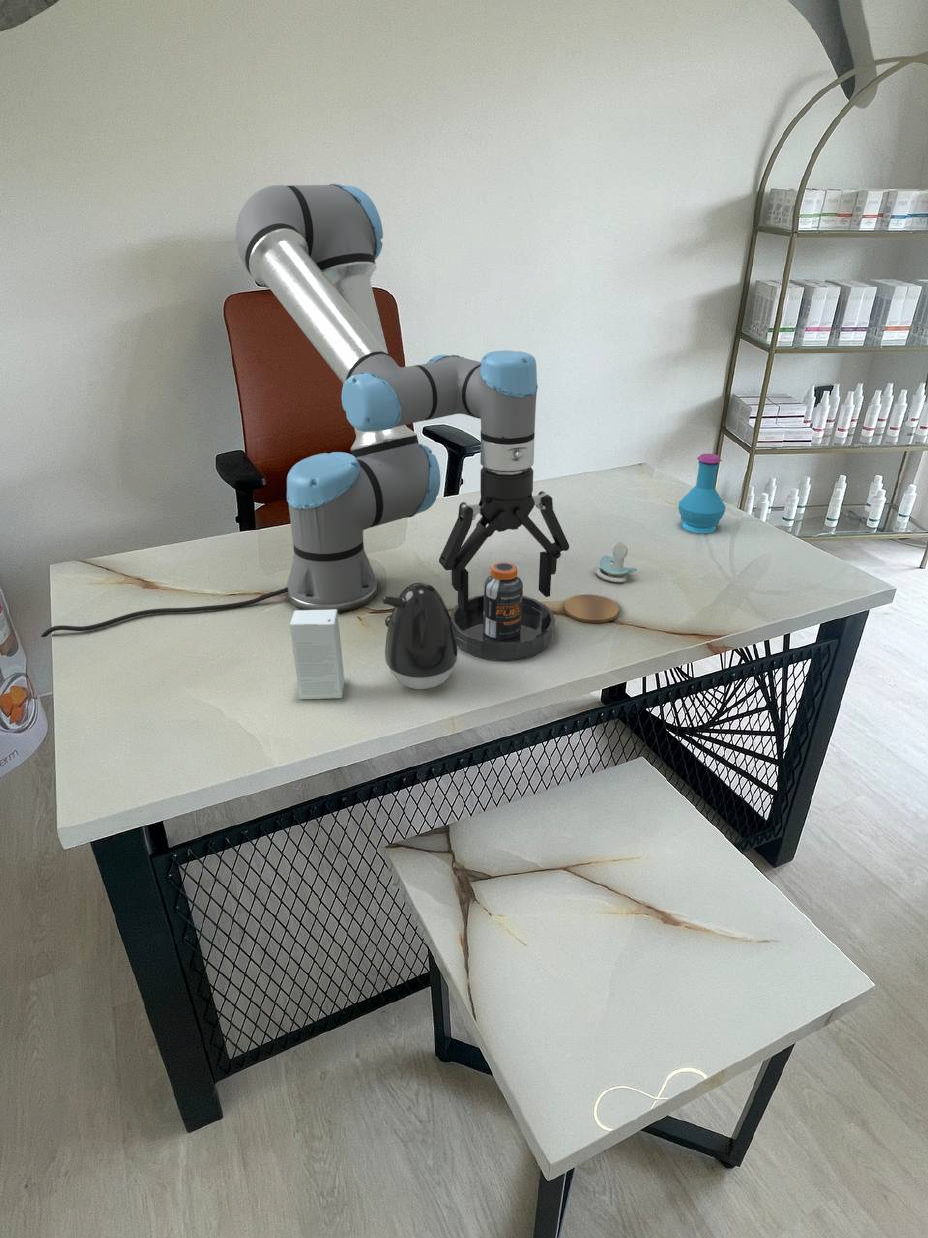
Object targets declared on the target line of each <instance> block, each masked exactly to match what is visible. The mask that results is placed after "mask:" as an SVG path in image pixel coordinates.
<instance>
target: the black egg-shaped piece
mask: <svg viewBox="0 0 928 1238" xmlns="http://www.w3.org/2000/svg"><path fill="white" fill-rule="evenodd" d="M381 602H382V604H384V605H387V606H391V607H393V609H392V613H391V614H390V615H391V618H390V622H389V626H388V627H387V630H386V638H385V645H384V646H385V647H384V660H385V663H386V665H387V667H388V668H389V671H390V672H391V674H392V676H393V677H394V679H395V680H396V681H397V682H398V683H399V684H401V685H402V686H405V687H407V688H410V689H414V690H428V689H432V688H435V687H437V686H440V685H441V684H443V683H445V681H447V679H448V678H449V677H450V676H451V674H452V672H453V670H454V667H455V665H456V663H457V660H458V647H457V644H456V638H455V632H454V628H453V624H452V621H451V618H450V613H449V612H450V611H448V608H447V605H446V604H445V601H444V599H443V597H442V596H441V595H440V593H439V592H438V590H437V588H435V587H434V586H432V585H431V584H429V583H427V582H413V583H411V584H409V585H407V586H406V587H405V588H404V589H403V590H402V592H401V593H400V595H399V596H390V595H384V596H383V597H382V599H381Z"/></svg>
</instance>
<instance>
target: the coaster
mask: <svg viewBox="0 0 928 1238" xmlns="http://www.w3.org/2000/svg"><path fill="white" fill-rule="evenodd" d="M563 610H564V612H565V614H566V615H567V616H568V617H570V618H571V619H573V620H576V621H579V622H583V623H588V624H601V623H602V624H603V623H608V622H610V621H613V620H614V619H616V618H617V617H618V615H619V613H620V608H619V605H618V603H616V602H615V601H614V600H612V599H610V598H608V597H605V596H603V595H597V594H579V595H578V594H577V595H575V596H572V597H570V598H567V600H566V601H565V602H564V604H563Z"/></svg>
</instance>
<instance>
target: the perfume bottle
mask: <svg viewBox="0 0 928 1238" xmlns="http://www.w3.org/2000/svg"><path fill="white" fill-rule="evenodd" d="M696 459H697V460H698V468H697V469H698V470H697V477H696V481H695V482H696V483H695V486H693V488H692V489H690V491H689V492H687V494H686V495H685V496H683V498H681V499H680V500H679V502H678V511H679V515H680V520H681V521H682V523H681V525H682V528H683V530H686V531H688V532H690V533H695V534H710V533H714V532H715V531H716V529H717V527H716V526H717V525H718V524H719V523H720V521H721V519H722V518H723V516H724V515H725V512H726V505H725V503H724V501H723V500H722V497H721V496H720V494H719V493H718V491H717V489H716V487H715V485H716V479H717V473H718V468H719V465H720V463H721V462H722V459H721V457H720V456H719V455H718V454H716V453H715V454H714V453H702V454H700V455H699V456H698V457H697V458H696Z"/></svg>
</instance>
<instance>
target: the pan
mask: <svg viewBox="0 0 928 1238" xmlns="http://www.w3.org/2000/svg"><path fill="white" fill-rule="evenodd" d="M449 615H450V617H451V621H452V624H453V628H454V632H455V638H456V644H457V648H458V649H460V650H461V651H462V652H464V653H467V654H468V655H470V656H473V657H476V658H479V659H484V660H491V661H502V662H506V661H507V662H509V661H510V662H511V661H519V660H524V659H525V660H526V659H529V658H531V657H534V656H537V655H539V654H541V653H543V652H545V651H546V650H547V649H548V648H549V647H550V646H551V644H552V643H553V640H554V637H555V630H556V629H555V626H556V619H555V615H554V612H553V611H552V610H551V608H549V607H548V605H546V604H544V603H543V602H541V601H540V600H537V599H536V598H532V597H529V596H525V595H523V598H522V615H521V631H520V633H519V634H518V635H517V636H516V637H514V638H511V639H505V640H501V639H495V638H492V637H489V636H488V635H486V634H485V632H484V630H483V617H484V594H479V595H475V596H471V597H468V611H467V612H463V610H462V609H461V608H460V607H459V605H458V604H456V605H455V606H454V608H453V609H452V611H451V612H450V613H449Z"/></svg>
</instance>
